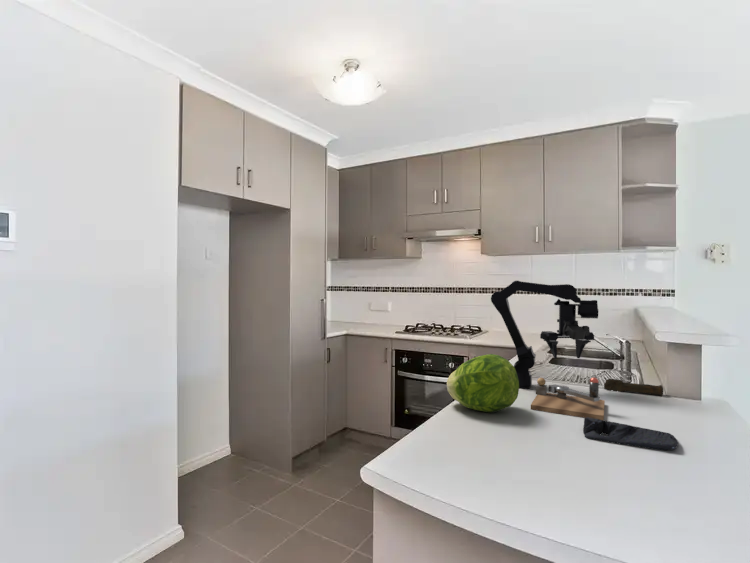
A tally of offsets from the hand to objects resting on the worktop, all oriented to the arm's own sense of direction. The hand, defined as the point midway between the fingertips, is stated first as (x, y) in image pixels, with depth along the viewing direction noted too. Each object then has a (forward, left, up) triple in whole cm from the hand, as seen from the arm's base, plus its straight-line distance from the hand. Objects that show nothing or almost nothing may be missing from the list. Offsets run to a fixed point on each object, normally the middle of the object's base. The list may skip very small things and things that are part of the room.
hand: (566, 358), depth 159 cm
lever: (+4, -18, -10) cm, 21 cm away
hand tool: (+22, +10, -13) cm, 28 cm away
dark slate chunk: (+19, -41, -13) cm, 47 cm away
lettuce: (-22, -38, -13) cm, 46 cm away
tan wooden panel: (+2, -21, -13) cm, 25 cm away
